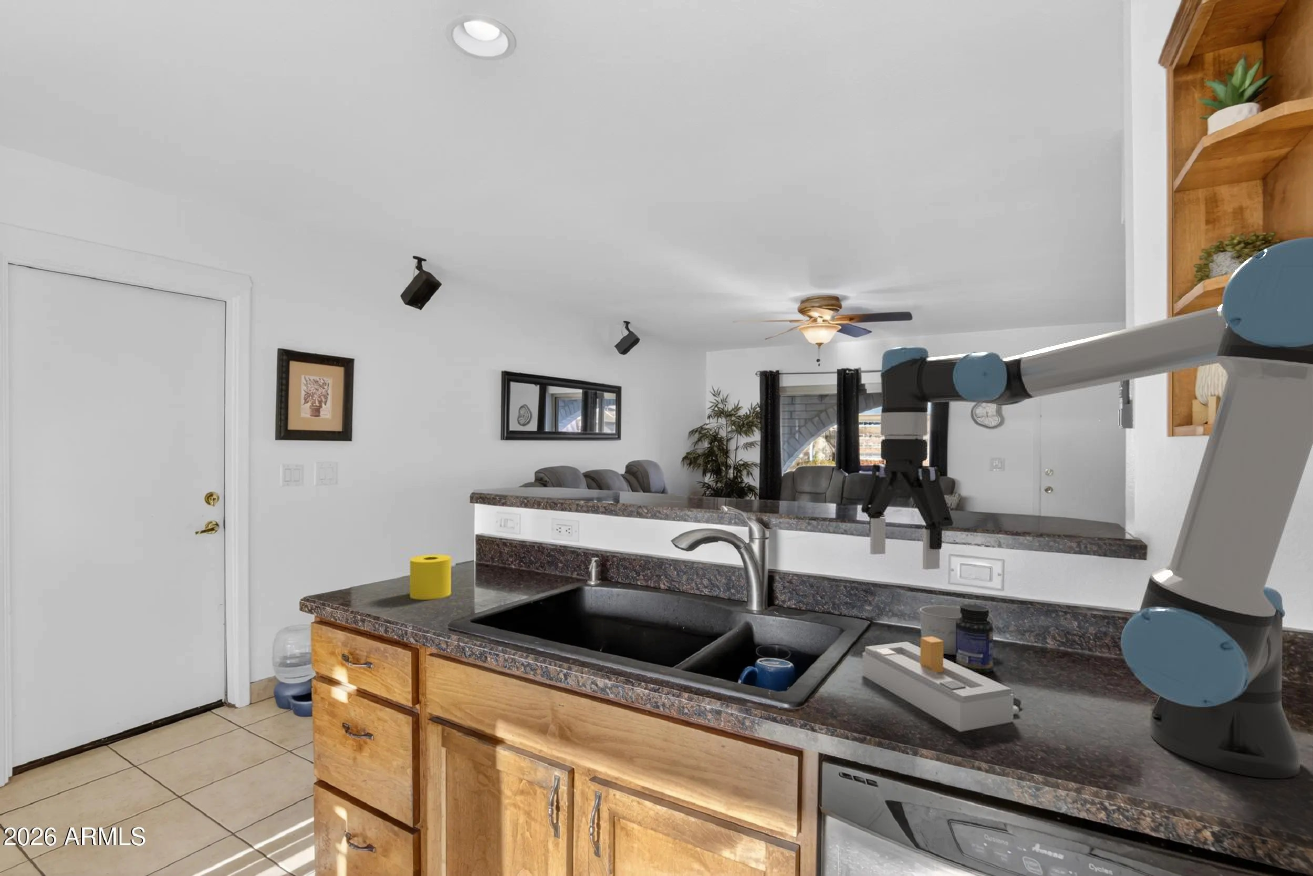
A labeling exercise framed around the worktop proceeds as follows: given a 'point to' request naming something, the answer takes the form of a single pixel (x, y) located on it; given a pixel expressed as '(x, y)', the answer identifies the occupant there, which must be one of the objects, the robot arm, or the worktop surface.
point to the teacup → (942, 625)
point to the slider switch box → (939, 687)
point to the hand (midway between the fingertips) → (902, 561)
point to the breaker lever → (931, 654)
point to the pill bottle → (974, 639)
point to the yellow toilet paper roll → (430, 577)
